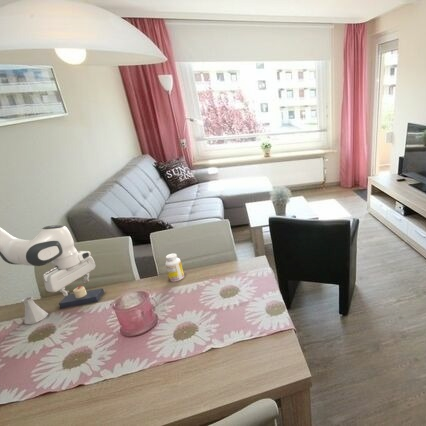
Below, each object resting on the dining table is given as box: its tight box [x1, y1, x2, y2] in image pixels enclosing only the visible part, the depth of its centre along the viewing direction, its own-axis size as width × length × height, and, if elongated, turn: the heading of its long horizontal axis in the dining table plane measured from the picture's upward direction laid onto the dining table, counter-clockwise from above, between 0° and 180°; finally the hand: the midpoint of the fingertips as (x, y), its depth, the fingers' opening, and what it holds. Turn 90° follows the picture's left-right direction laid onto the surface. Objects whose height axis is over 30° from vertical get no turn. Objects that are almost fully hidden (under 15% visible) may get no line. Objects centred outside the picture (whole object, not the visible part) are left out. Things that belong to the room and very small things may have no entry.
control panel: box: [58, 287, 105, 309], centre depth 130 cm, size 14×7×3 cm, turn 105°
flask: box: [21, 296, 49, 325], centre depth 119 cm, size 7×7×10 cm
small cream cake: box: [72, 285, 87, 298], centre depth 129 cm, size 4×4×4 cm
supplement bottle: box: [164, 253, 185, 282], centre depth 142 cm, size 7×7×13 cm
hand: (77, 288), depth 129 cm, fingers open, 8 cm apart
